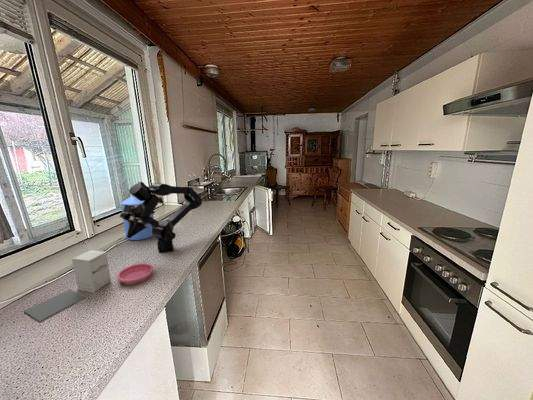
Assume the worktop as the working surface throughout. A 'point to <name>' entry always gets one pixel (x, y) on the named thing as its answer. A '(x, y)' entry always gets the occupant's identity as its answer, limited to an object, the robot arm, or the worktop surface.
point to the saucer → (135, 274)
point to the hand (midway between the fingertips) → (128, 237)
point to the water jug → (145, 232)
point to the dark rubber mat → (54, 305)
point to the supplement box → (91, 270)
